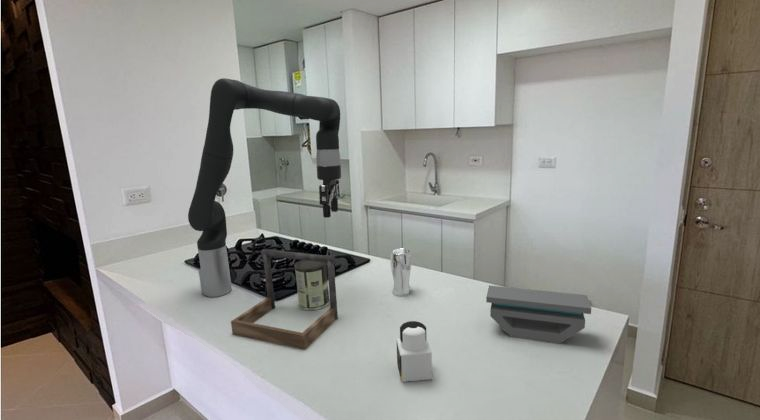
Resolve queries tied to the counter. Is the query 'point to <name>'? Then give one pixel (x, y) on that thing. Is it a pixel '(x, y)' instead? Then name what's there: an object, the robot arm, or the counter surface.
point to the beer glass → (401, 271)
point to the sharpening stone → (538, 313)
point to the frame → (271, 334)
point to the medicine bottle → (413, 353)
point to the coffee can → (312, 284)
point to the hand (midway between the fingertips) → (331, 214)
